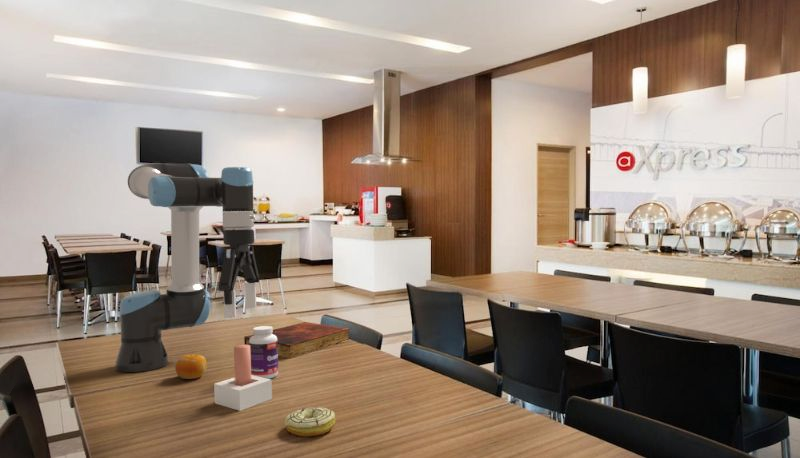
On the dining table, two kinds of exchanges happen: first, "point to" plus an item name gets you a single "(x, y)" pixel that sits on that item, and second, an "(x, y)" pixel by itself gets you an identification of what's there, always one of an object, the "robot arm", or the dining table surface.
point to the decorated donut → (310, 421)
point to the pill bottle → (264, 352)
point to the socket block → (243, 393)
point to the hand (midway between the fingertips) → (241, 312)
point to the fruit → (191, 366)
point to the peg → (242, 365)
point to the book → (306, 338)
